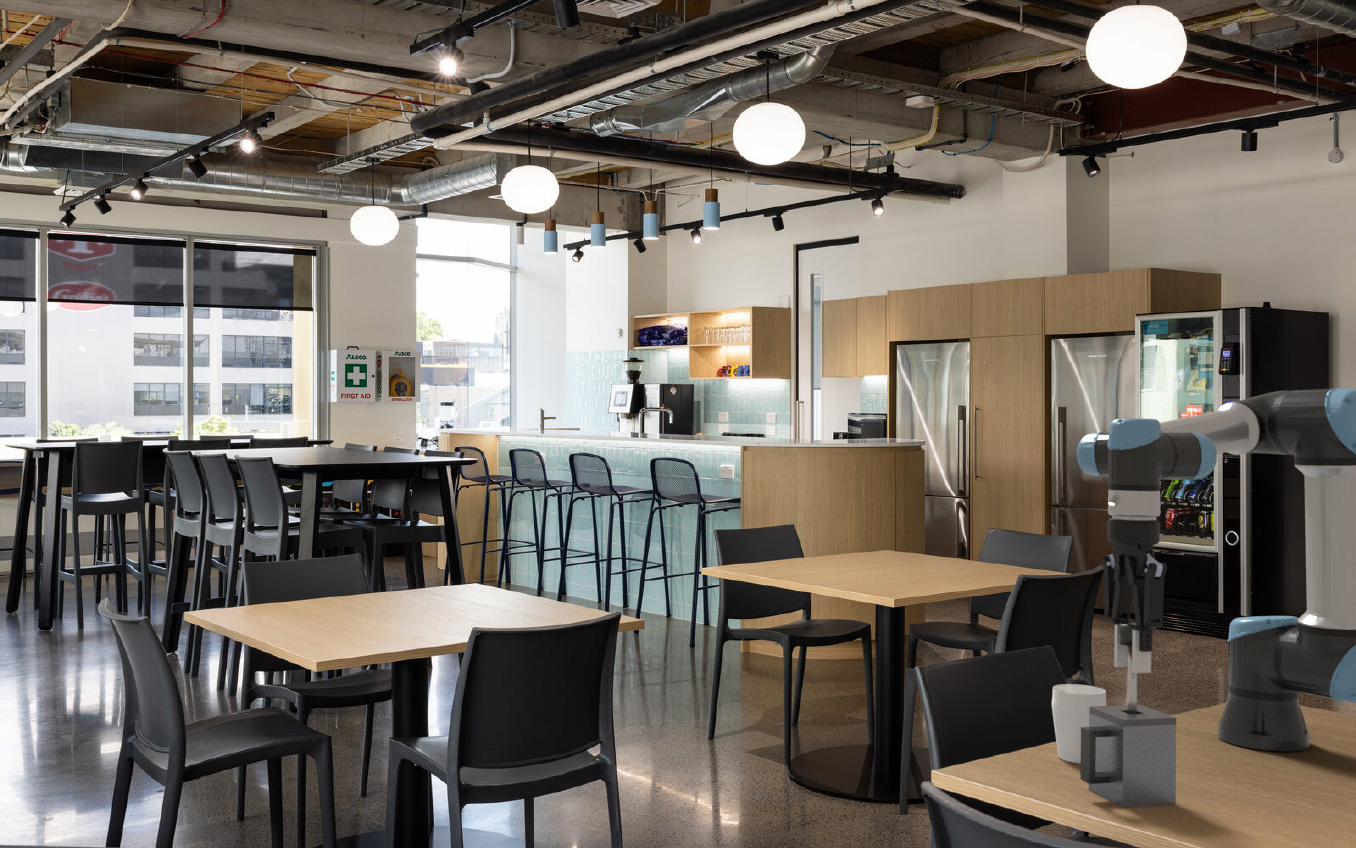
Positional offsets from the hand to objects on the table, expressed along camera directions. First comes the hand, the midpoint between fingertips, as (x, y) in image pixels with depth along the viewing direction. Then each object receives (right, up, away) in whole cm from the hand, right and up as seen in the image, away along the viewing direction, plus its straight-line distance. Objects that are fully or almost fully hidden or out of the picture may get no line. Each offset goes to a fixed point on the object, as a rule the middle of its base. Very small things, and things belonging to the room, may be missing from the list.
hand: (1132, 669), depth 178 cm
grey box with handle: (-2, -20, -1) cm, 20 cm away
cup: (-1, -20, +21) cm, 29 cm away
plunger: (0, -14, 0) cm, 14 cm away
